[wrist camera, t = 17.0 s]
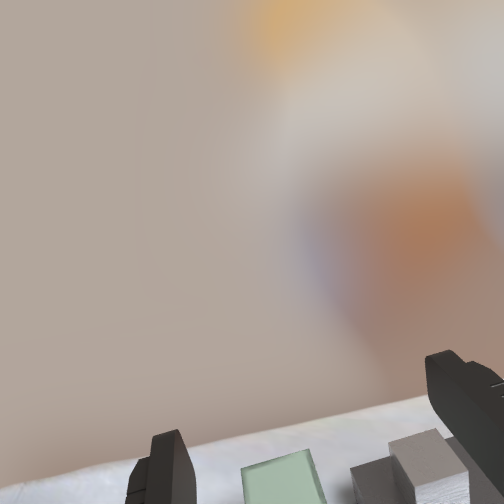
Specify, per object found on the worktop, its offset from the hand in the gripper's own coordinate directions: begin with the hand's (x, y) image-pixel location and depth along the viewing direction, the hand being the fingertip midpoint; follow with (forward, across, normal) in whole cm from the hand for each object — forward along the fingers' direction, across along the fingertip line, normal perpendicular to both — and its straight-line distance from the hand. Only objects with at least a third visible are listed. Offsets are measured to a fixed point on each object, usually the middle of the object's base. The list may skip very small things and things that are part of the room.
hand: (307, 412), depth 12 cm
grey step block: (+11, -9, +26) cm, 30 cm away
